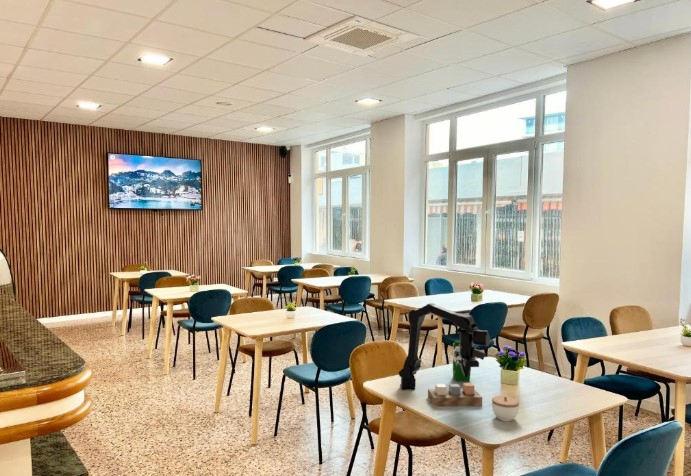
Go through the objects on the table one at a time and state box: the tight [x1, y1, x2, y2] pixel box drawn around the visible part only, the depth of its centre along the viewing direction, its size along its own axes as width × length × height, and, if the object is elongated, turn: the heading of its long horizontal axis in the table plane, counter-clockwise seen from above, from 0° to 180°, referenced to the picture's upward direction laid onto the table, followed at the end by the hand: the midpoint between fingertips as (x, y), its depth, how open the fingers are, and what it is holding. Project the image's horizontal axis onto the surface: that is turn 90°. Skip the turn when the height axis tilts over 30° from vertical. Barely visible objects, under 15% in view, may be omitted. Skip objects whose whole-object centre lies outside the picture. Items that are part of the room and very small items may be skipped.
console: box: [427, 388, 483, 408], centre depth 222 cm, size 22×11×4 cm, turn 94°
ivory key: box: [434, 383, 447, 395], centre depth 221 cm, size 4×4×4 cm
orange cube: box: [462, 382, 475, 395], centre depth 222 cm, size 4×4×4 cm
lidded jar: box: [491, 395, 520, 422], centre depth 204 cm, size 11×11×9 cm
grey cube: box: [448, 383, 461, 395], centre depth 222 cm, size 4×4×4 cm
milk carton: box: [452, 339, 472, 382], centre depth 253 cm, size 9×9×20 cm
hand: (466, 377), depth 221 cm, fingers closed
